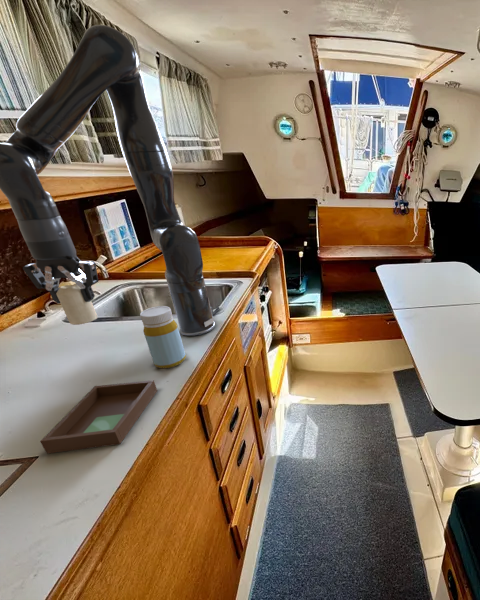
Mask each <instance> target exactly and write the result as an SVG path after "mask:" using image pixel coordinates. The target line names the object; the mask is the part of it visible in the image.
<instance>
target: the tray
mask: <svg viewBox="0 0 480 600" xmlns="http://www.w3.org/2000/svg"><path fill="white" fill-rule="evenodd" d="M157 393H158V388H157V385H156V383H155V380H154V379H152V380H142V381H132V382H121V383H110V384H101V385H94V386H93V387H92V388H91V389H90V390H89V391H88V392H87V393H86V394H85V395H84V396H83V397H82V399H80V400H79V401H78V403H76V404H75V406H74V407H72V408H71V409H70V410H69V412H67V413H66V414H65V415H64V417H62V419H60V421H58V423H57V424H56V425H54V426H53V428H51V429H50V430H49V432H47V434H46V435H45V436H44V437H43V438H41V440H39V443H40V444H41V446H42V448H43V449H44V452H45V454H55V453H56V454H57V453H62V452H70V451H77V450H85V449H92V448H100V447H107V446H108V447H109V446H115V445H121V443H122V442H123V441H124V440H125V438H126V436H128V434H129V432H130V431H131V429H132V428H133V427H134V425H135V424H136V422H137V421H138V420H139V418H140V416H142V414H143V413H144V411H145V409H147V407H148V405H149V404H150V403H151V401H152V400H153V398H154V397H155V396H156V394H157ZM120 414H124V415H123V417H122V418H121V419H120V420H119V422H118V423H117V424H116V426H115V427H114V428H113V429H112V430H104V431H96V432H88V433H84V431H85V430H86V429H87V428H88V427H89V426H90V424H91V423H92V422H93V421H94V420H95V419H96V418H97V417H103V416H111V415H120Z"/></svg>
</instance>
